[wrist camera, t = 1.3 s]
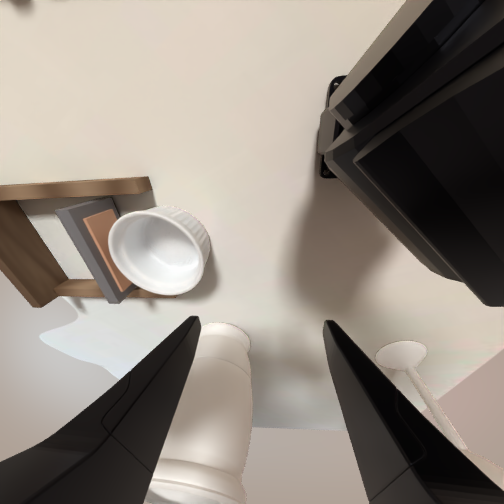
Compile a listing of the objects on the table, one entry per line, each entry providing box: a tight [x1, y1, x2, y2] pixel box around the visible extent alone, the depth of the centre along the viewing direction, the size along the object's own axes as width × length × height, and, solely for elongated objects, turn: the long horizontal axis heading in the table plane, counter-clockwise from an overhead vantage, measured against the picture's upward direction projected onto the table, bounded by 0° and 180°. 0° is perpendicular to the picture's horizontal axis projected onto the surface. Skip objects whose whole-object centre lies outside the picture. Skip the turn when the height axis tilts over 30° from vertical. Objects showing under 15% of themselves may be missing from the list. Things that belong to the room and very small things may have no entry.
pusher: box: [54, 197, 137, 304], centre depth 19 cm, size 2×10×4 cm, turn 3°
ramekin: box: [108, 206, 210, 295], centre depth 19 cm, size 9×9×4 cm
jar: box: [144, 322, 253, 504], centre depth 22 cm, size 11×10×15 cm
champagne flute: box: [375, 341, 504, 490], centre depth 16 cm, size 7×7×24 cm
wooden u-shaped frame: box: [0, 177, 177, 308], centre depth 20 cm, size 17×13×4 cm
